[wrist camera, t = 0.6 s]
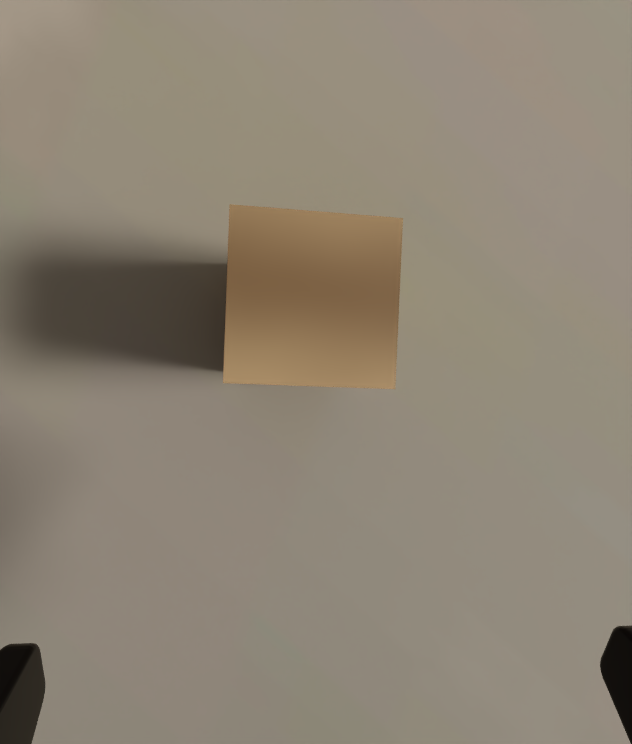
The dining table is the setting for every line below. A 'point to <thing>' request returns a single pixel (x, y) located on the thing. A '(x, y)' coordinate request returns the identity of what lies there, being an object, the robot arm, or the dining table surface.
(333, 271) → the oak block
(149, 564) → the dining table surface
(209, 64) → the dining table surface
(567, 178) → the dining table surface
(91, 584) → the dining table surface
